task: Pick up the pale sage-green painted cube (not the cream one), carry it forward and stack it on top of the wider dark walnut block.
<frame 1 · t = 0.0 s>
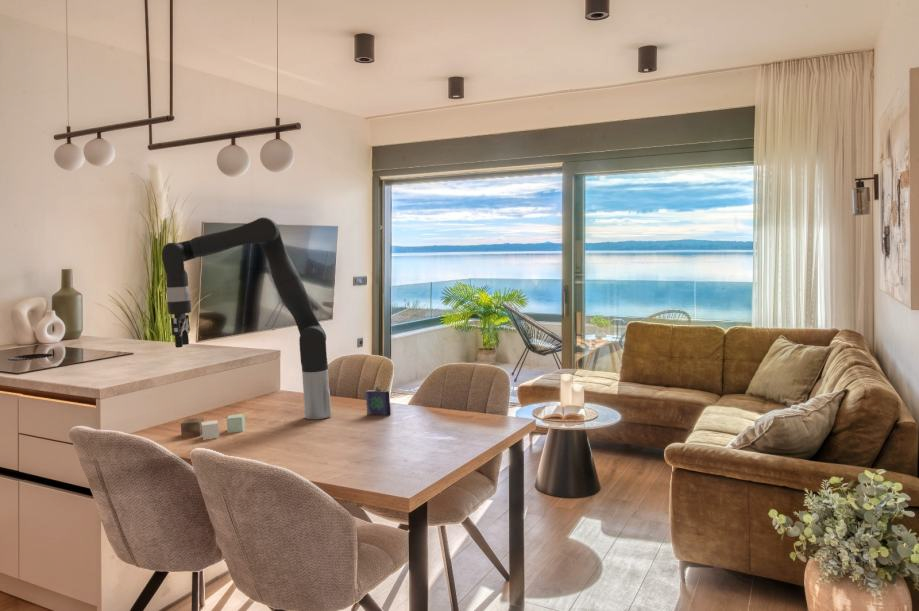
hand: (182, 345, 232), 29 cm above the table, fingers open, 8 cm apart
cream block: (210, 437, 219), on the table
flask: (379, 415, 239), on the table
walnut block: (193, 435, 224), on the table
sage block: (236, 430, 227), on the table
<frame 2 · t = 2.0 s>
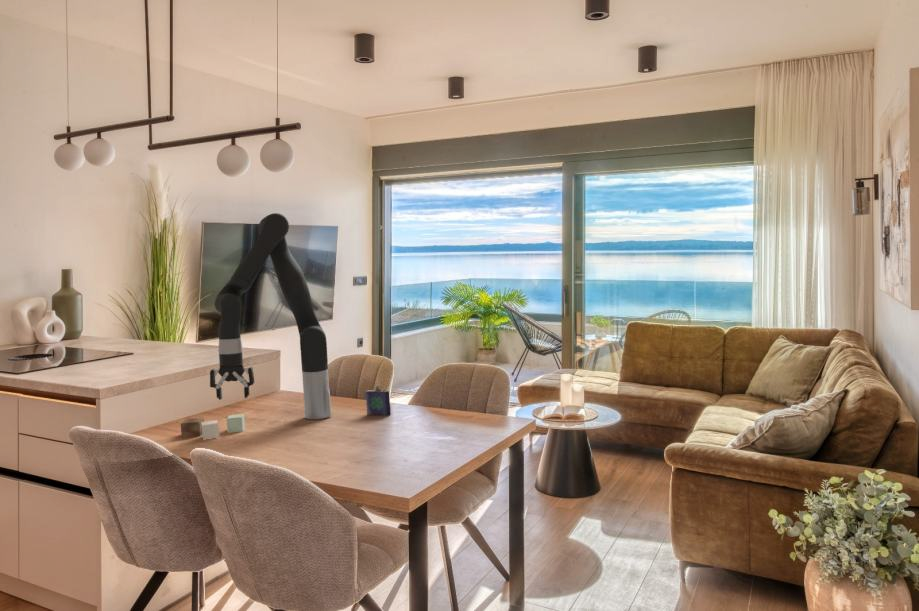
hand: (233, 398, 226), 11 cm above the table, fingers open, 8 cm apart
nothing on the table moved.
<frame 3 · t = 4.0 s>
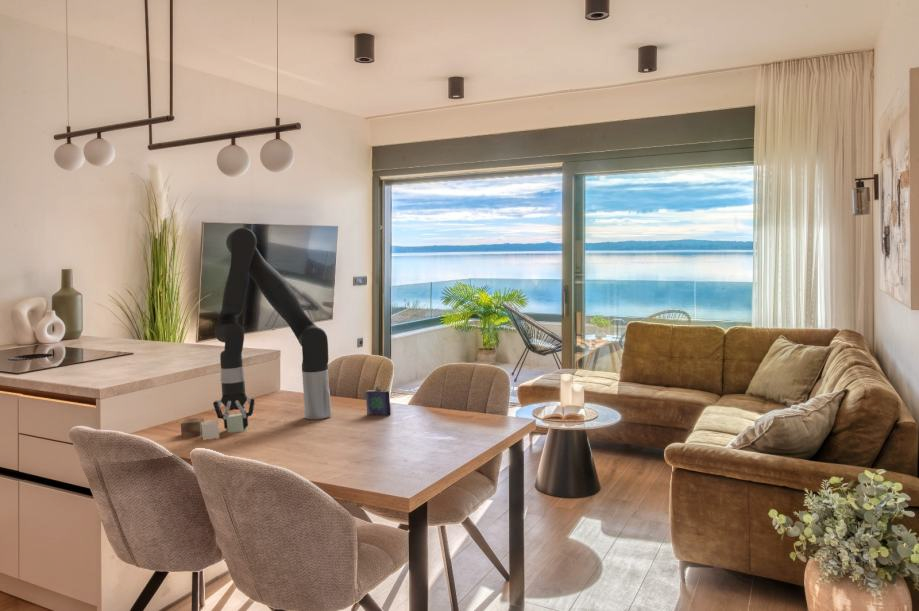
hand: (236, 428, 227), 0 cm above the table, fingers closed on sage block, 5 cm apart
sage block: (236, 430, 227), on the table, touching gripper
everything else where it was.
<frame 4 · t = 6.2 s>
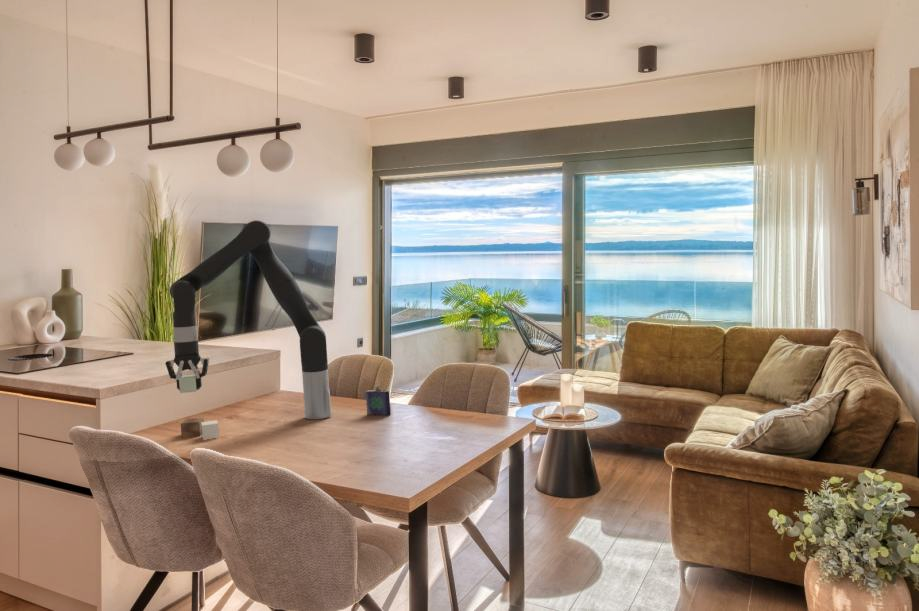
hand: (189, 389, 223), 15 cm above the table, fingers closed on sage block, 5 cm apart
sage block: (189, 391, 223), point 15 cm above the table, touching gripper
everything else where it was.
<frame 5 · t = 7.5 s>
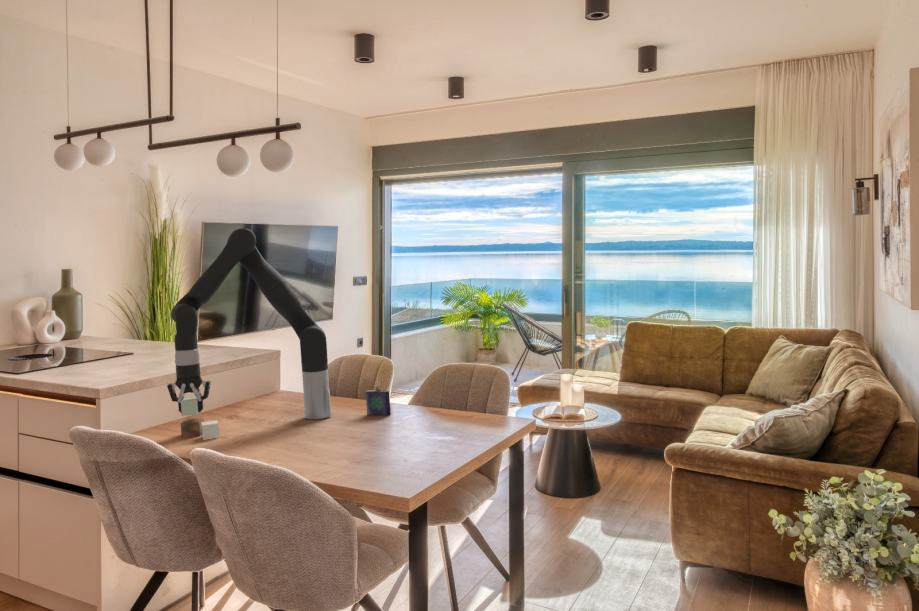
hand: (191, 412, 223), 8 cm above the table, fingers closed on sage block, 5 cm apart
sage block: (191, 413, 223), point 7 cm above the table, touching gripper
everything else where it was.
when the fingers open (6 cm above the table, at t = 8.6 s): sage block drops 1 cm, resting on walnut block.
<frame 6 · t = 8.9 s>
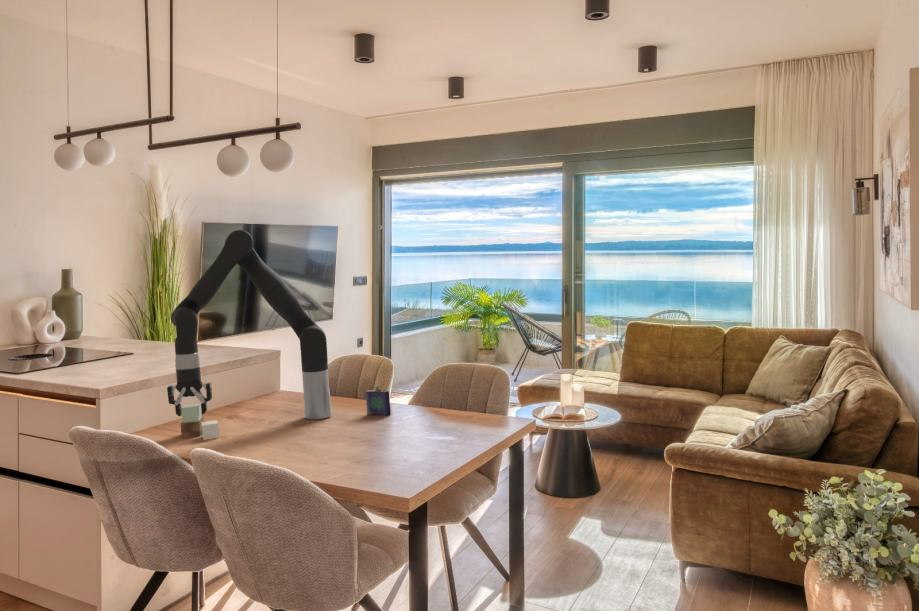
hand: (191, 414, 223), 7 cm above the table, fingers open, 7 cm apart
walnut block: (193, 435, 224), on the table, touching sage block
sage block: (192, 420, 224), point 5 cm above the table, touching walnut block
everything else where it was.
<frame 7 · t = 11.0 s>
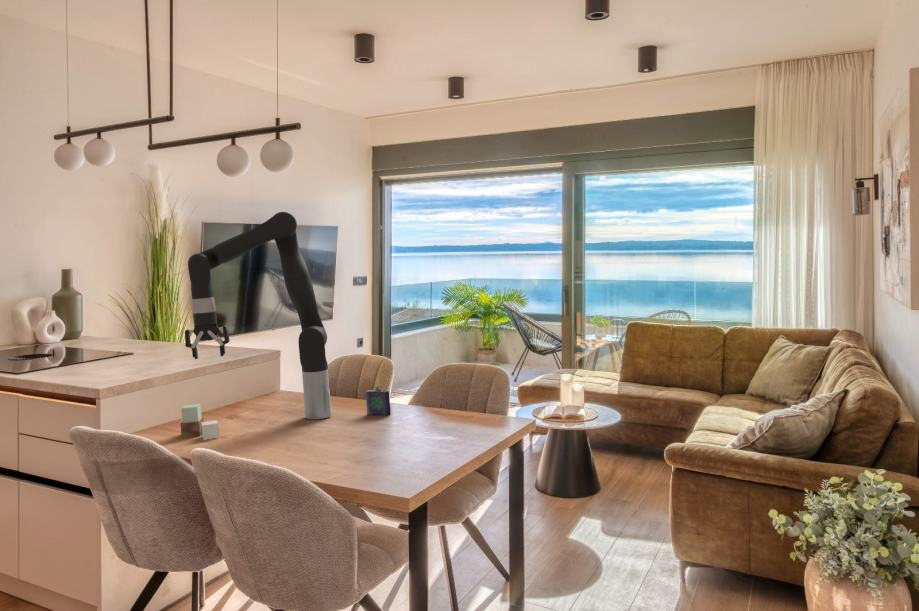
hand: (209, 357, 229), 25 cm above the table, fingers open, 8 cm apart
nothing on the table moved.
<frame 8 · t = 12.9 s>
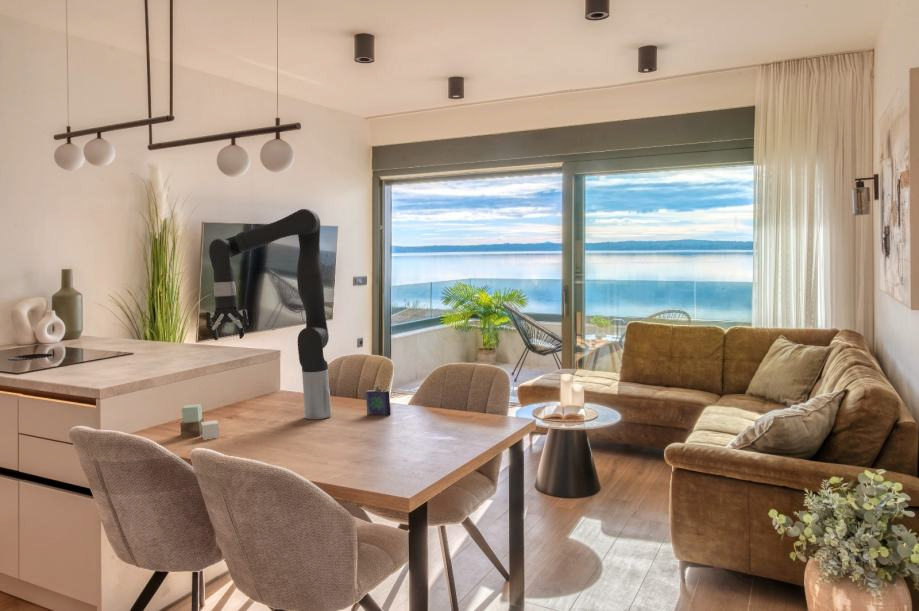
hand: (228, 339, 238), 30 cm above the table, fingers open, 8 cm apart
nothing on the table moved.
at the end: sage block 0.3 cm off-centre on the walnut block, point 5.0 cm above the walnut block's base; sage block tilted 0°; the gripper is holding nothing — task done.
